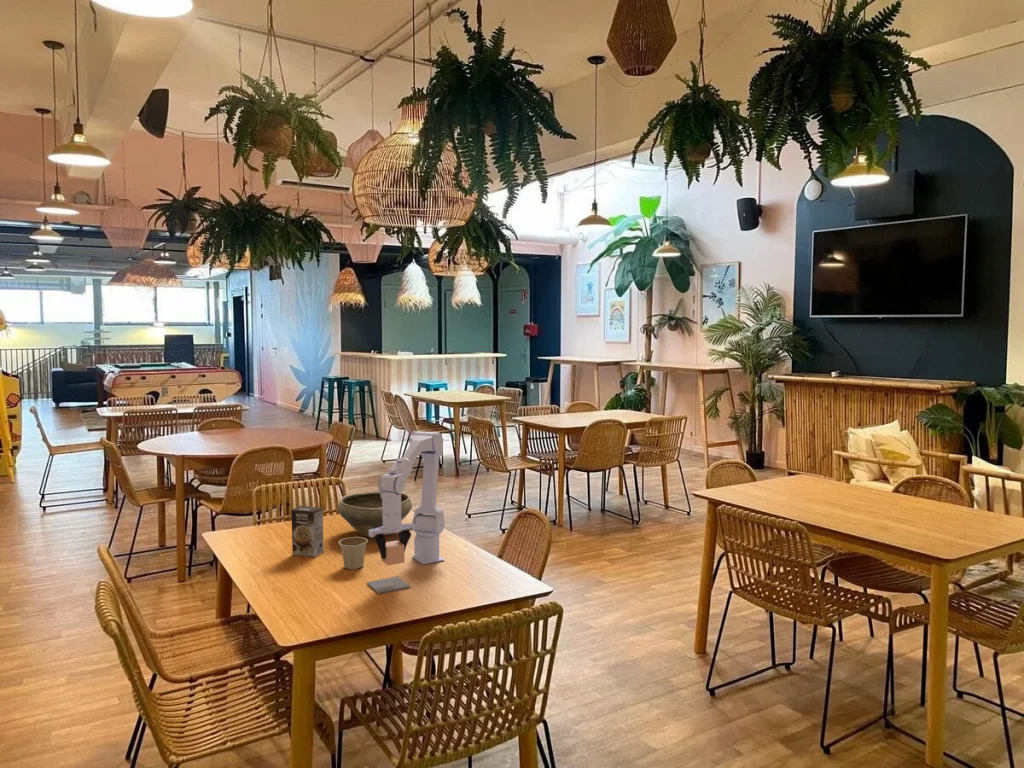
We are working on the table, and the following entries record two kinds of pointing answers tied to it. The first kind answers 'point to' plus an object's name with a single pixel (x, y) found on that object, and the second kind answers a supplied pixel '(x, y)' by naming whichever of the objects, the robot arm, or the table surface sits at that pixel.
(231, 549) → the table surface
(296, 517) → the coffee box
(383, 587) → the slate coaster
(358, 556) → the flower pot
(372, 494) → the bowl
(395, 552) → the painted block
